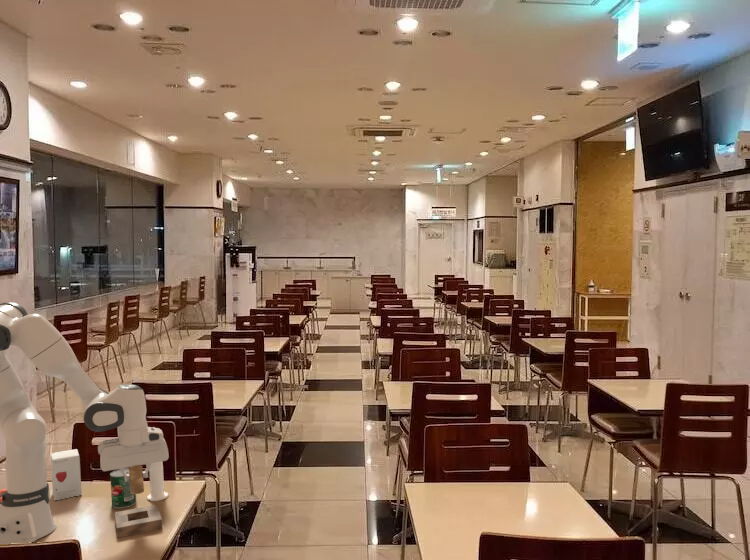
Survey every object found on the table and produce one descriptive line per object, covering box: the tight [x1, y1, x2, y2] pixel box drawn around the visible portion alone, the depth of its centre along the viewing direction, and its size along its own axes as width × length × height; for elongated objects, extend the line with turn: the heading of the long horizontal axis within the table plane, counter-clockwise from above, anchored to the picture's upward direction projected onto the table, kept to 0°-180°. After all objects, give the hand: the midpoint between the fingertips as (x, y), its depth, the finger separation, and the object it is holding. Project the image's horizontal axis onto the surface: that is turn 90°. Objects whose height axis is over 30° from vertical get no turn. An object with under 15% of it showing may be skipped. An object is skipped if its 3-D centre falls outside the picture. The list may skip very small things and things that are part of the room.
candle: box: [146, 426, 169, 502], centre depth 230 cm, size 7×7×25 cm
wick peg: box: [128, 465, 145, 495], centre depth 208 cm, size 4×4×9 cm
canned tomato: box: [109, 467, 137, 509], centre depth 226 cm, size 8×8×11 cm
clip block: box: [114, 504, 163, 538], centre depth 209 cm, size 13×13×3 cm
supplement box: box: [50, 448, 83, 501], centre depth 236 cm, size 9×9×15 cm
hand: (136, 479), depth 208 cm, fingers closed on wick peg, 4 cm apart
